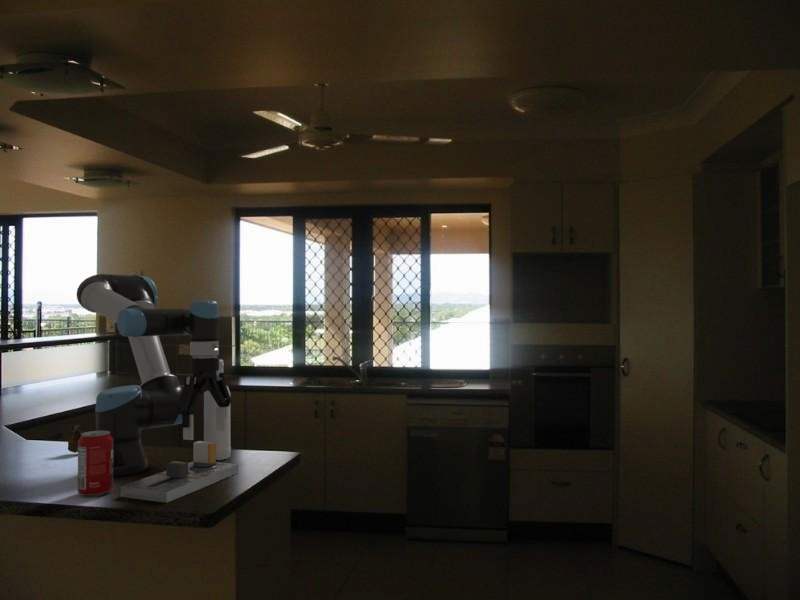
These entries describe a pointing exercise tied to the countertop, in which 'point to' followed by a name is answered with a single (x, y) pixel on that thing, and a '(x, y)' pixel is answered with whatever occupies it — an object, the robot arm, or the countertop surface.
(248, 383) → the countertop surface
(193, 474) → the console
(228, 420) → the bottle
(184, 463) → the fader
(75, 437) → the amber spray bottle
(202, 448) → the dial
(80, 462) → the soda can
